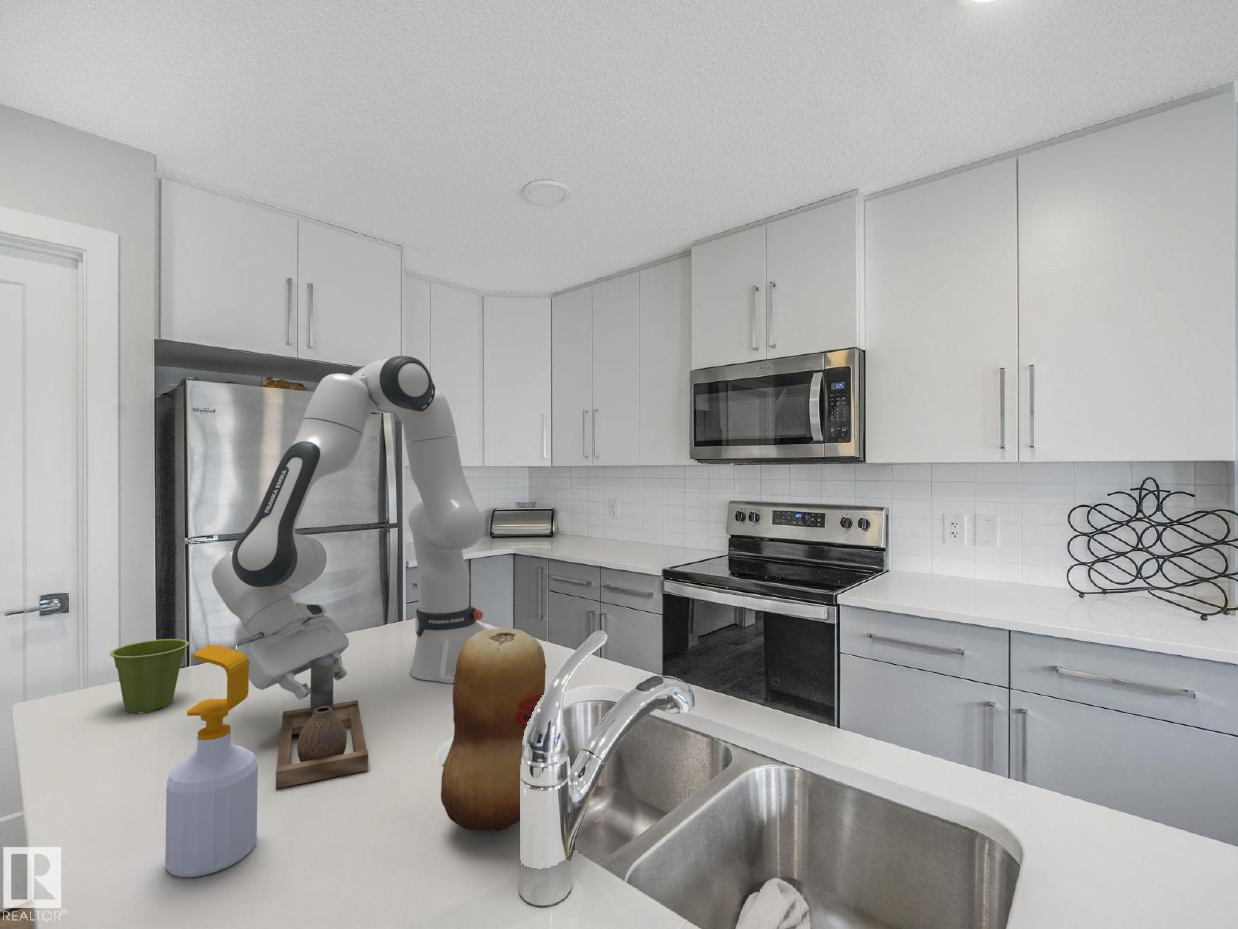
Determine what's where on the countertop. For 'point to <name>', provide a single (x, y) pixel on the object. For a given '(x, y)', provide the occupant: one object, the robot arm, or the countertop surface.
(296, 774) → the strip frame
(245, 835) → the soap bottle
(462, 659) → the butternut squash
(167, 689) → the plant pot
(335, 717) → the vase
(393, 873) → the countertop surface
